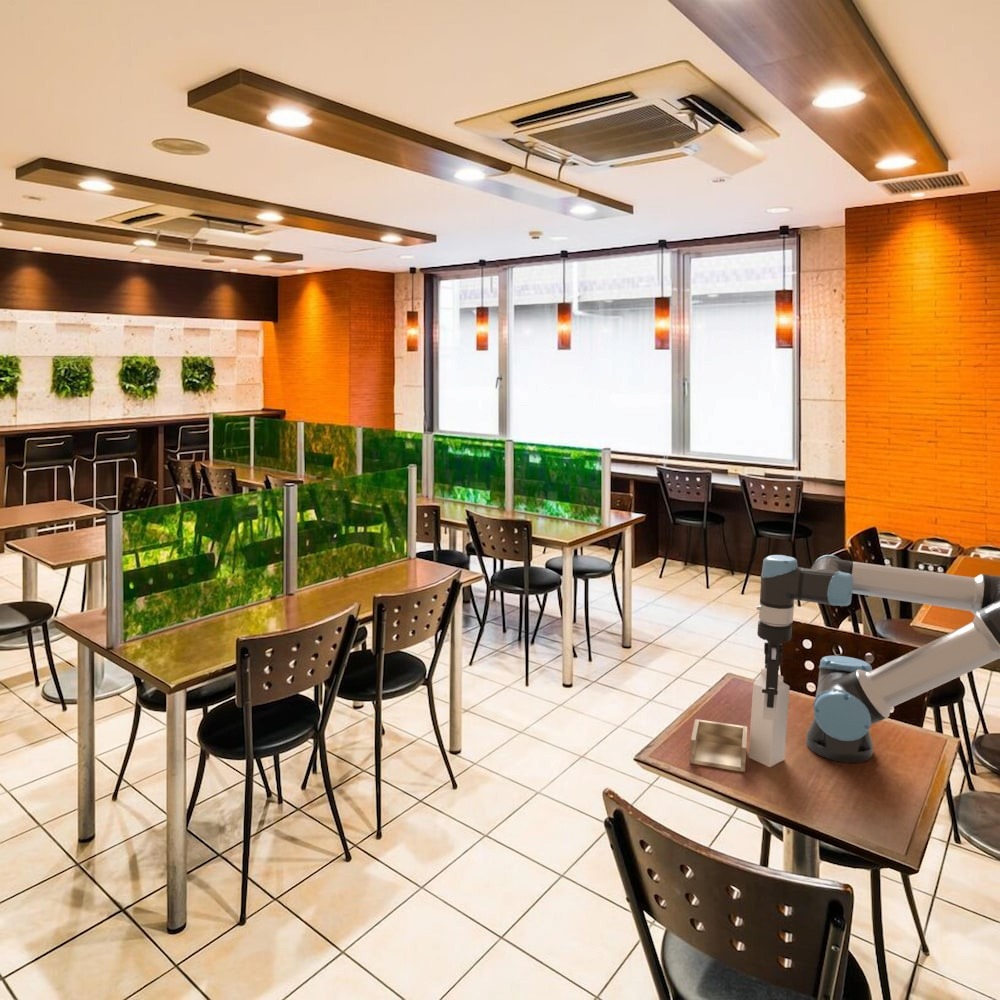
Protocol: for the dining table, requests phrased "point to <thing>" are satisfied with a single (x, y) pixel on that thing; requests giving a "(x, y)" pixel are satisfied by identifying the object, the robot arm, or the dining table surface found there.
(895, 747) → the dining table surface
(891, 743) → the dining table surface
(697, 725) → the u rest
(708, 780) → the dining table surface
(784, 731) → the milk
